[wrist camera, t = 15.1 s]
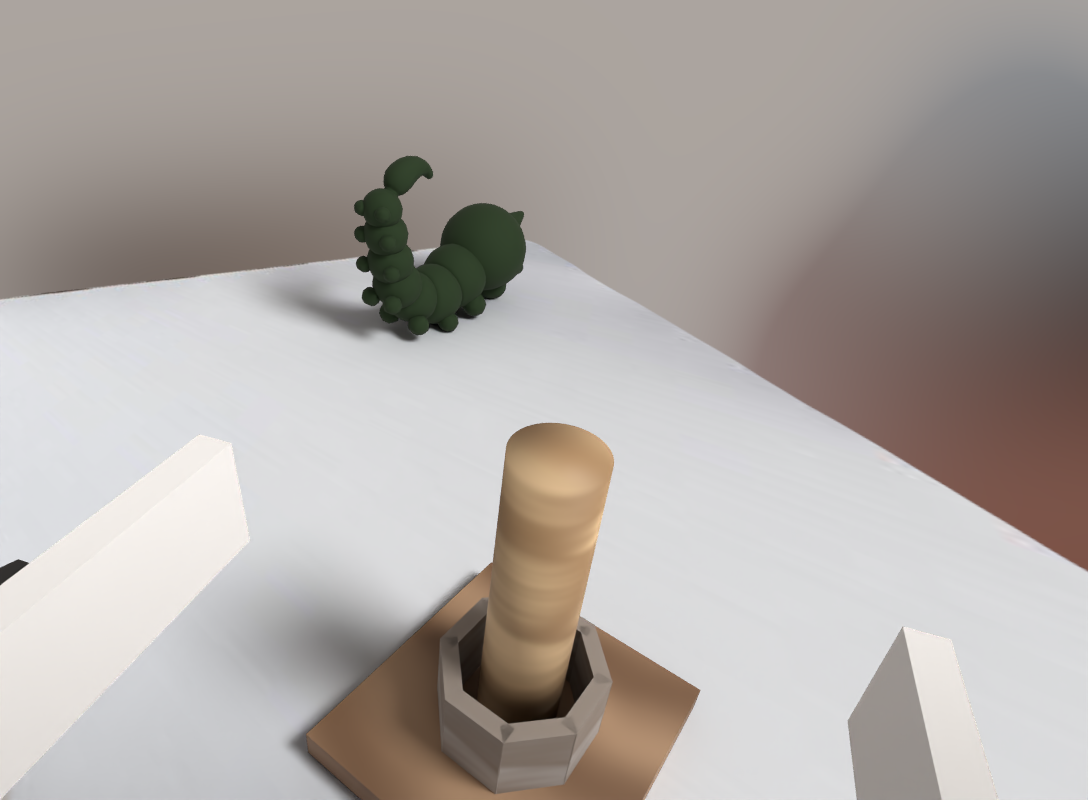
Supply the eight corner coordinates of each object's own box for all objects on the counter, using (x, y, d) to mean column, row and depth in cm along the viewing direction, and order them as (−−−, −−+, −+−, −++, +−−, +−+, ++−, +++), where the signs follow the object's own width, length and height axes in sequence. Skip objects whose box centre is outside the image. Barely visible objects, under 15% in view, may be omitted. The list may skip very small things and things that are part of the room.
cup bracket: (489, 579, 42) (496, 514, 39) (693, 707, 36) (720, 641, 33) (308, 752, 31) (299, 681, 28) (553, 972, 25) (574, 910, 23)
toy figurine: (416, 378, 64) (551, 287, 82) (406, 184, 53) (564, 127, 70) (345, 346, 68) (489, 265, 85) (322, 158, 57) (492, 110, 74)
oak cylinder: (507, 662, 35) (545, 411, 27) (571, 705, 33) (632, 452, 25) (458, 717, 32) (483, 455, 24) (525, 768, 30) (578, 505, 22)
